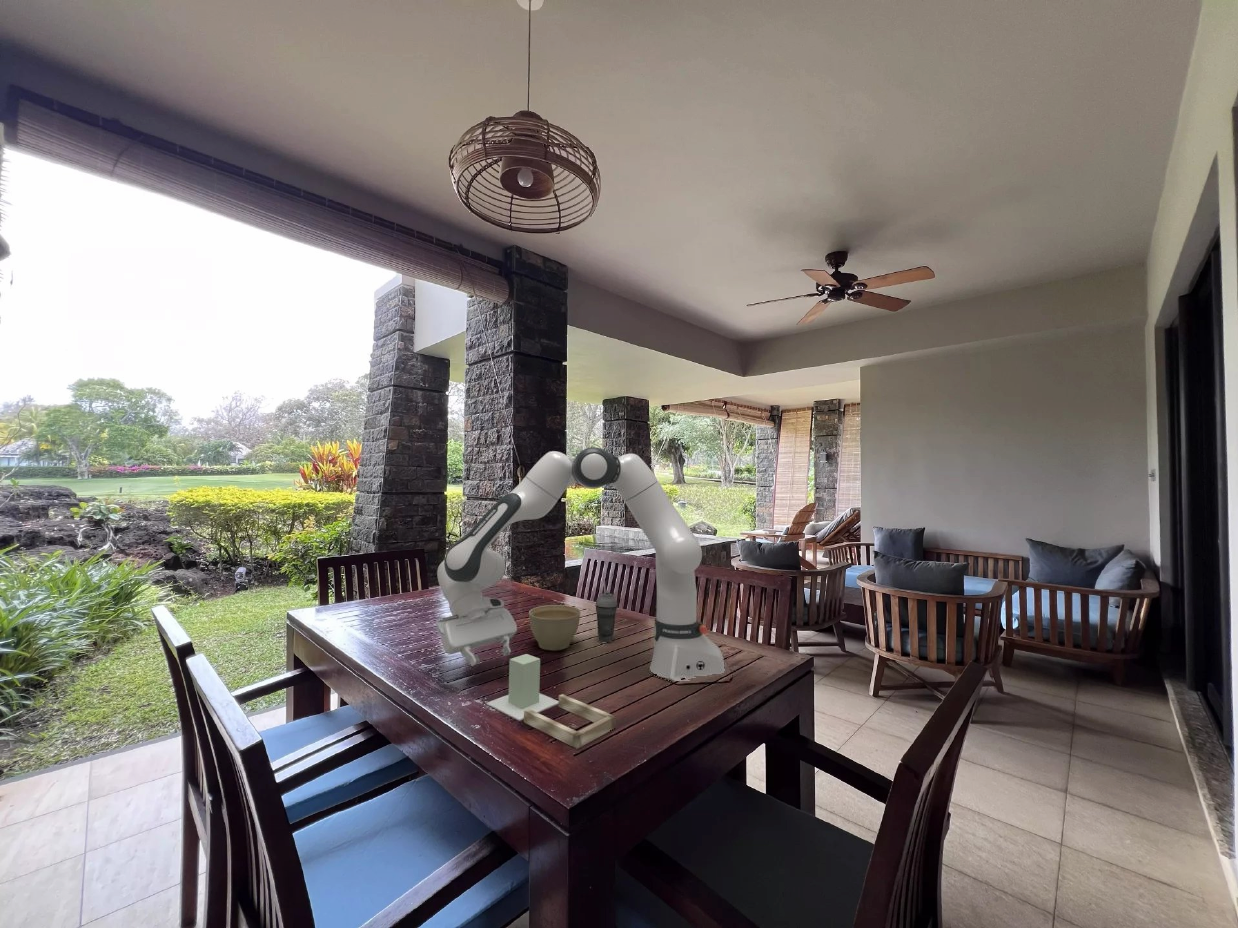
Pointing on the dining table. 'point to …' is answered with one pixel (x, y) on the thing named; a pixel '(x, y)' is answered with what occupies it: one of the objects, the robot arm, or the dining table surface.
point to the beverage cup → (606, 615)
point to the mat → (517, 712)
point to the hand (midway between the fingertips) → (492, 658)
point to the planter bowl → (554, 625)
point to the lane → (566, 734)
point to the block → (524, 681)
